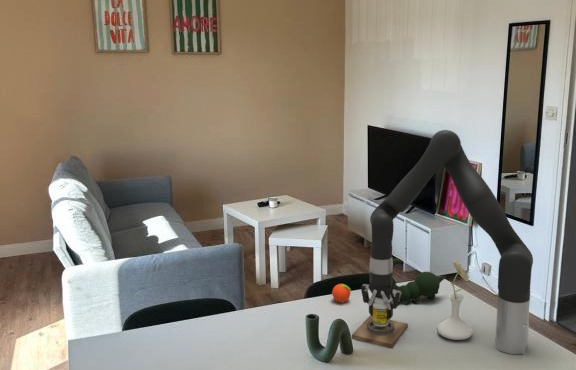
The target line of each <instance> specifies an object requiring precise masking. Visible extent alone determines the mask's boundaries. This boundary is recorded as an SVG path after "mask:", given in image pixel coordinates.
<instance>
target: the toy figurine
mask: <svg viewBox="0 0 576 370" xmlns="http://www.w3.org/2000/svg"><path fill="white" fill-rule="evenodd" d="M392 261H393V267H394V266H396V265H397V264H401V265H403V264H404V261H403V260H402V259H401V258H397V257H396V258H395V257H394V258H392ZM446 278H447V276H446V275H436V274H434V273H433V272H431V271H422V272H420V273H419V274H417V275H416V276H415V278H414V280H411V281H409V282H407V283H406V285H405V284H403V285H400V286H399V285H397V284H396V283H395V282H396V281H395V278H393V283H392V286H393V288H394V290H397V291H399V290H401V291H402V294H401V298H400V302H403V304H404V305H405V306H407V305H409V303H410V300H413V301H414V302H415V303H416V304H417V303H420V302H421V301H422V299H421V297H425V298H426V299H427V300H429V301H433V300H435V299H436V295H437V294H439V291H440V290H439V289H440V285H441V284H440V283H441V282H443V281H444V280H445V279H446ZM391 298H392V302H393V303H394V300H395V297H394V294H393V293H392V294H391Z"/></svg>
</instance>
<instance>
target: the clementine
mask: <svg viewBox="0 0 576 370" xmlns="http://www.w3.org/2000/svg"><path fill="white" fill-rule="evenodd" d="M351 292H352V289H351V288H350V287H349V286H348V285H346V284H344V283H338V284H337V285H334V287H333V288H332V291H331V294H332V297H333V299H334V300H335V301H336V302H338V303H344V302H347V301H348V300H349V298H350V297H351Z"/></svg>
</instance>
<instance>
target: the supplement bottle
mask: <svg viewBox="0 0 576 370" xmlns="http://www.w3.org/2000/svg"><path fill="white" fill-rule="evenodd" d="M387 309H388V308H387V305H386V304H385V302H384V299H382V298H377V297H375V301H374V303H373V324H374V325H376V326H380V327H383V326H386V325H388V324H389V319H387Z"/></svg>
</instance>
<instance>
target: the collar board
mask: <svg viewBox="0 0 576 370" xmlns="http://www.w3.org/2000/svg"><path fill="white" fill-rule="evenodd" d="M408 328H409V323H407V322H403V321H398V320H394V319H390V320H389V324H388V325H386V326H383V327H380V326H376V325H374V324H373V316H371V315H370V314H369V316H368V317H367V318H366V319H365V320H364V321H363V322H362V324H360V325H359V326H358V327H357V329H355V330H354V331H353V333H351V339H352V340H356V341H360V342H362V343H363V342H364V343H368V344H372V345H376V346H381V347H384V348H388V349H393V348H394V346H395V345H396V344H397V343H398V341H399V340H400V339H401V338H402V337H403V335H404V333H406V331H407V330H408Z"/></svg>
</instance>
